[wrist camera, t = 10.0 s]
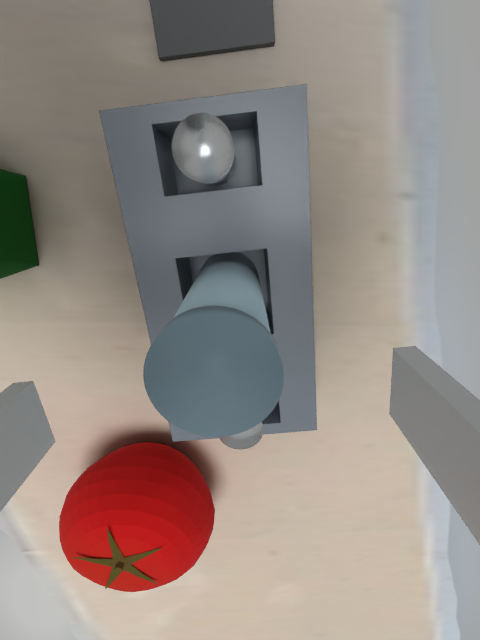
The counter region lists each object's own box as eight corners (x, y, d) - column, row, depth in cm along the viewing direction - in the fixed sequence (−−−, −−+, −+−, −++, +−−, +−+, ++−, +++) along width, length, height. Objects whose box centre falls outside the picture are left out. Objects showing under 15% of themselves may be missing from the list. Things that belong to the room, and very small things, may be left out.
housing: (131, 130, 25) (99, 110, 19) (291, 110, 24) (306, 83, 18) (184, 400, 33) (172, 441, 27) (304, 389, 32) (316, 429, 27)
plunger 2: (220, 366, 29) (214, 414, 23) (256, 363, 29) (260, 410, 23) (225, 397, 30) (220, 450, 24) (259, 394, 30) (264, 447, 24)
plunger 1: (187, 139, 23) (166, 117, 16) (233, 133, 23) (229, 109, 16) (195, 188, 24) (177, 185, 18) (238, 183, 24) (237, 178, 17)
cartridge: (192, 251, 27) (129, 321, 12) (258, 244, 26) (279, 306, 12) (202, 313, 29) (158, 442, 14) (263, 307, 28) (287, 431, 13)
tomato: (228, 438, 35) (223, 532, 25) (206, 522, 39) (194, 630, 29) (93, 412, 34) (32, 500, 24) (85, 502, 38) (31, 607, 28)
